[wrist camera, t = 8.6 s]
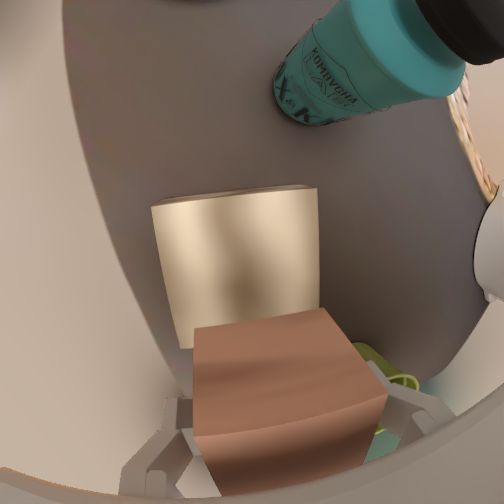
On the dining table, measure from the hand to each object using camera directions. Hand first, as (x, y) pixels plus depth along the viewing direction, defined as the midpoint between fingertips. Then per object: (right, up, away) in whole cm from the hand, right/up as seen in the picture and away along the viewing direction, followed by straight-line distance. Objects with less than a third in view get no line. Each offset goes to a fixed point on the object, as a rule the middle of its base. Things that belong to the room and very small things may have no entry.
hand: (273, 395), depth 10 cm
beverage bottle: (+4, +19, +12) cm, 23 cm away
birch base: (-2, +5, +16) cm, 16 cm away
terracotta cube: (0, +1, +1) cm, 2 cm away
